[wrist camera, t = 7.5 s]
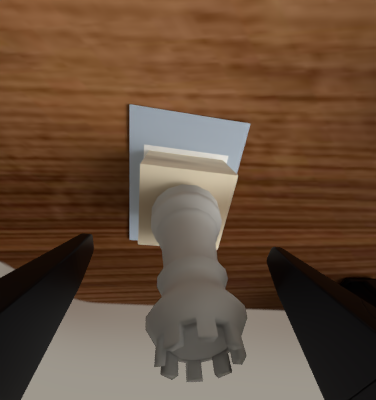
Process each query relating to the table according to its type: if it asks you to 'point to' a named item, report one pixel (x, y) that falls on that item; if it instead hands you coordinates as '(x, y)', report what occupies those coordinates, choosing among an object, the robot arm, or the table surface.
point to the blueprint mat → (179, 143)
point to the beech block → (177, 175)
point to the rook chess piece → (192, 288)
